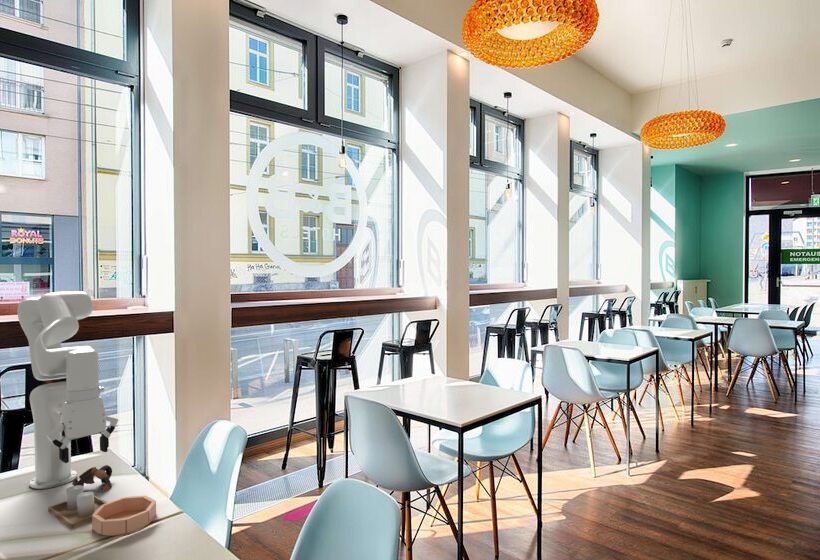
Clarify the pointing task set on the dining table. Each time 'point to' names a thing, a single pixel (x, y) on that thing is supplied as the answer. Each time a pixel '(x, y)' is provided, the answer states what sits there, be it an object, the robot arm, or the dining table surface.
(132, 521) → the bowl
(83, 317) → the robot arm
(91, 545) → the dining table surface
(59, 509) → the tray
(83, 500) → the stone
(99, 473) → the brown piece
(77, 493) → the stone
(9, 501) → the dining table surface
